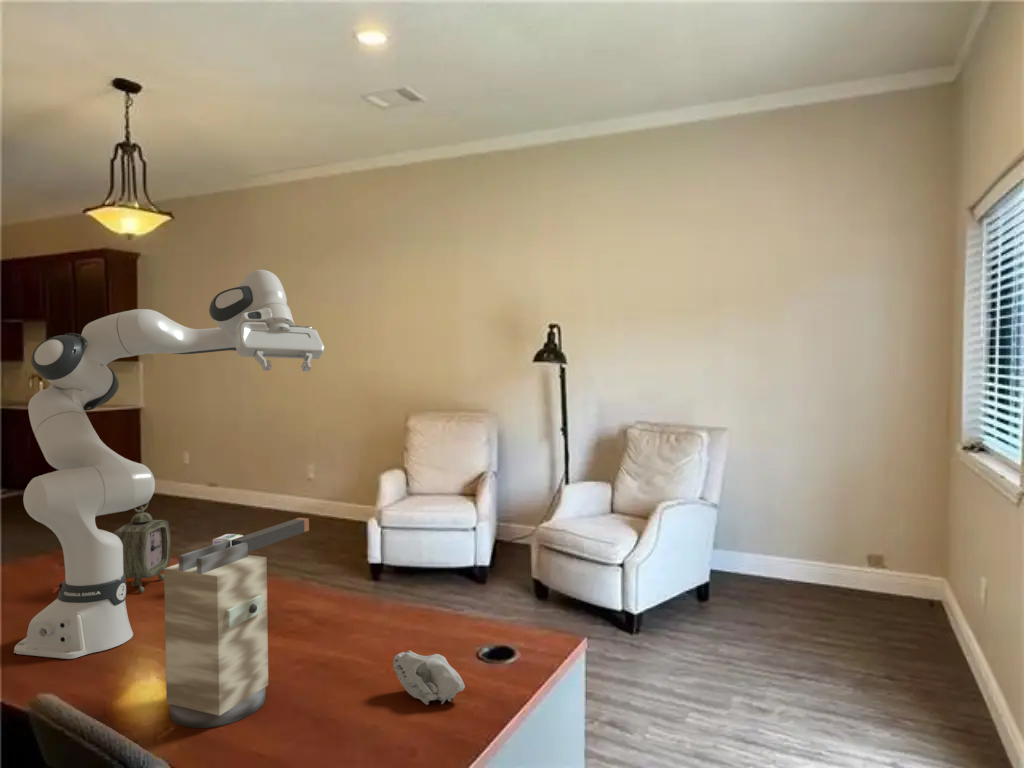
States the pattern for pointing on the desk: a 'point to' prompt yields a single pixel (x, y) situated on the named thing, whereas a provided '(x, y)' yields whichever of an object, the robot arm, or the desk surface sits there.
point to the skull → (427, 676)
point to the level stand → (216, 635)
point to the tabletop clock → (145, 547)
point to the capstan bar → (273, 534)
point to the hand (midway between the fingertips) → (287, 369)
